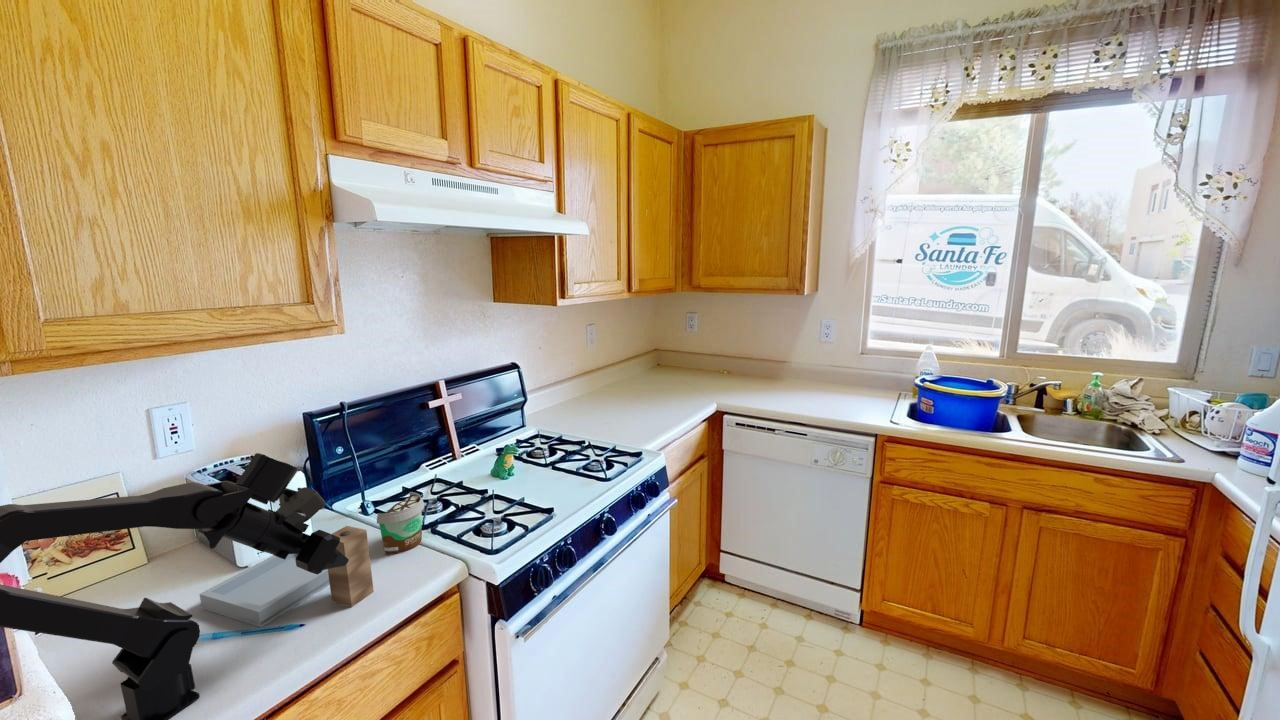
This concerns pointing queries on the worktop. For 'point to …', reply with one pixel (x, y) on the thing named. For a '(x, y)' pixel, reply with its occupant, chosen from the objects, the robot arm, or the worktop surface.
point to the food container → (402, 525)
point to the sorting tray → (263, 591)
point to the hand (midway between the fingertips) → (331, 556)
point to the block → (351, 568)
